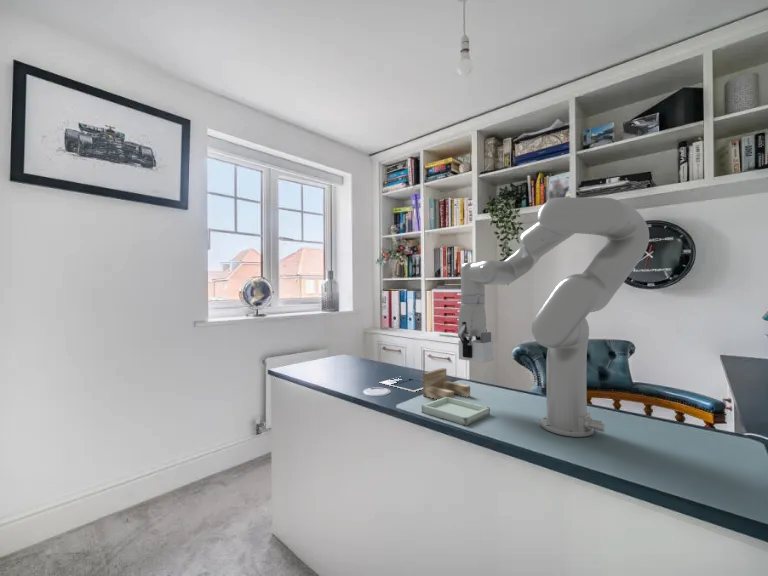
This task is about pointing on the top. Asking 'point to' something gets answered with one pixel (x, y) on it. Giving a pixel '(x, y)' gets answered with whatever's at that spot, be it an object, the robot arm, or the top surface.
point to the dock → (442, 385)
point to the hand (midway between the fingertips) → (473, 355)
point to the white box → (479, 349)
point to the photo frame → (389, 382)
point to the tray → (456, 410)
